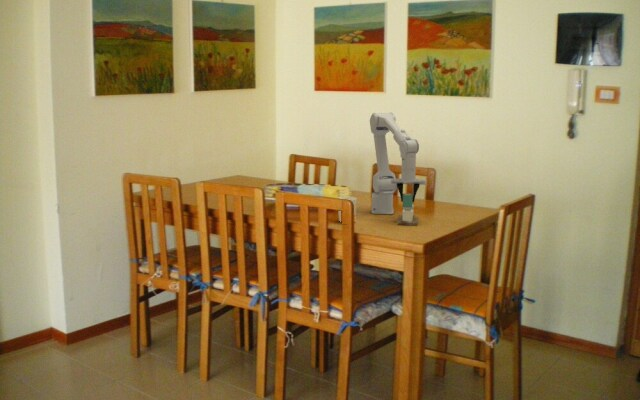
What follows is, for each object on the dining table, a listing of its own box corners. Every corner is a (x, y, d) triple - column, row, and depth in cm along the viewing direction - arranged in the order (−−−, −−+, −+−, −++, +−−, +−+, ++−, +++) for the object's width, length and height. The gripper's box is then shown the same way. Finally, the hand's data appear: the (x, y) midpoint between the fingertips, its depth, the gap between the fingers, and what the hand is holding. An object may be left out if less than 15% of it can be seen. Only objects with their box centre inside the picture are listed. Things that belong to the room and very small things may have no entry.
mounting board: (397, 225, 281) (397, 220, 281) (399, 217, 296) (399, 213, 296) (417, 225, 280) (417, 221, 279) (418, 217, 295) (418, 213, 295)
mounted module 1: (403, 215, 291) (403, 205, 290) (404, 213, 295) (404, 204, 295) (413, 215, 290) (413, 206, 290) (413, 213, 295) (413, 204, 294)
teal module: (402, 207, 285) (402, 195, 284) (403, 205, 289) (403, 193, 288) (412, 207, 284) (412, 195, 283) (412, 205, 288) (412, 193, 288)
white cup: (343, 219, 292) (343, 195, 291) (359, 221, 288) (360, 197, 287) (334, 222, 286) (334, 198, 284) (351, 224, 282) (351, 200, 280)
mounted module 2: (402, 220, 280) (402, 210, 280) (402, 218, 285) (403, 208, 284) (412, 221, 280) (412, 211, 279) (412, 218, 284) (412, 209, 283)
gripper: (390, 169, 281) (389, 202, 284) (426, 170, 279) (425, 203, 281) (391, 167, 288) (390, 199, 291) (426, 168, 286) (425, 200, 288)
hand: (407, 201), depth 286 cm, fingers closed on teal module, 4 cm apart
